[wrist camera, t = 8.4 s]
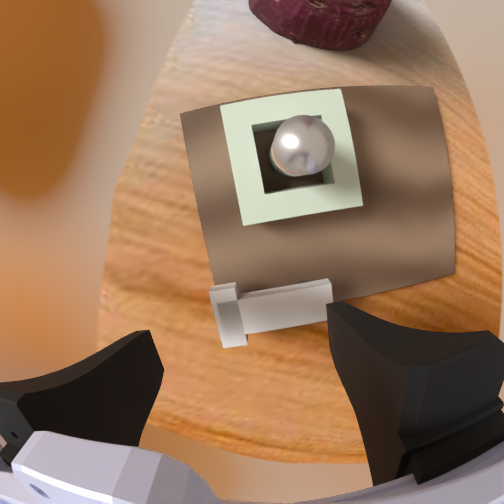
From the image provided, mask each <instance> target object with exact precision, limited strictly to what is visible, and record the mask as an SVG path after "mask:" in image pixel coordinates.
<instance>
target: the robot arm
mask: <svg viewBox="0 0 504 504" xmlns="http://www.w3.org/2000/svg"><path fill="white" fill-rule="evenodd" d="M326 311H327V322H328V333H329V345H330V351H331V354H332V358H333V361H334V365H335V368H336V370H337V372H338V375H339V377H340V379H341V381H342V384H343V386H344V388H345V390H346V393H347V395H348V397H349V399H350V402H351V404H352V406H353V409H354V411H355V414H356V417H357V420H358V424H359V427H360V431H361V435H362V438H363V442H364V446H365V450H366V454H367V459H368V463H369V467H370V472H371V476H372V482H373V487H370V488H366V489H363V490H359V491H355V492H351V493H347V494H342V495H337V496H333V497H327V498H322V499H317V500H310V501H304V502H297V503H288V504H504V413H503V412H502V411H501V409H502V408H503V406H504V403H503V401H502V400H501V399H500V398H499V397H498V395H499V392H500V389H501V386H502V384H503V381H504V343H503V342H502V341H501V340H500V339H498V338H497V337H496V336H495V335H494V334H492V333H491V332H490V331H489V330H487V331H476V332H465V333H445V332H432V331H425V330H418V329H413V328H408V327H404V326H401V325H397V324H394V323H390V322H388V321H385V320H382V319H380V318H377V317H375V316H372V315H370V314H368V313H366V312H364V311H362V310H360V309H358V308H356V307H354V306H352V305H350V304H347V303H345V302H343V301H338V302H333V303H328V304H326ZM163 373H164V367H163V365H162V362H161V360H160V357H159V355H158V352H157V349H156V347H155V344H154V341H153V339H152V336H151V333H150V330H142V331H136V332H133V333H131V334H129V335H127V336H125V337H123V338H121V339H119V340H118V341H116V342H114V343H112V344H111V345H109V346H107V347H106V348H104V349H102V350H101V351H99V352H97V353H95V354H93V355H91V356H90V357H88V358H86V359H84V360H82V361H80V362H78V363H76V364H74V365H71V366H69V367H67V368H64V369H62V370H59V371H56V372H53V373H49V374H47V375H44V376H40V377H35V378H31V379H26V380H20V381H12V382H2V383H0V434H1V436H2V437H3V438H4V440H5V441H6V442H7V444H6V446H5V447H2V446H1V445H0V504H283V503H260V502H248V501H238V500H229V499H221V498H218V497H217V496H216V495H215V494H214V493H213V491H212V489H211V488H210V486H209V485H208V483H207V482H206V481H205V480H204V479H203V478H202V477H201V476H200V475H198V474H197V473H196V472H195V471H194V470H193V469H192V468H191V467H190V466H189V465H187V464H185V463H183V462H181V461H179V460H176V459H174V458H172V457H170V456H168V455H166V454H164V453H161V452H157V451H152V450H148V449H144V448H140V447H138V446H139V441H140V438H141V434H142V431H143V428H144V426H145V423H146V421H147V418H148V416H149V414H150V411H151V409H152V407H153V404H154V402H155V399H156V397H157V394H158V392H159V389H160V386H161V382H162V378H163Z"/></svg>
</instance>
